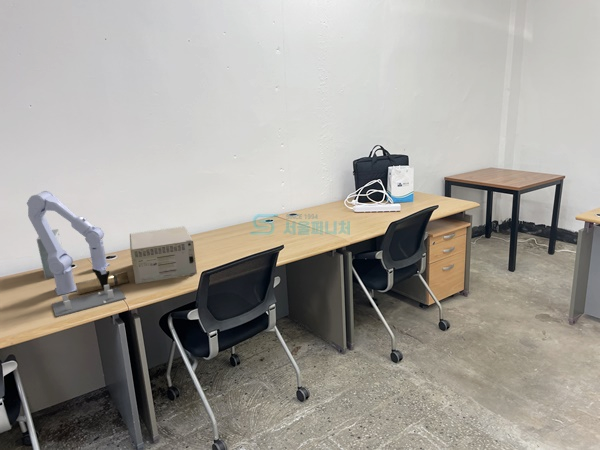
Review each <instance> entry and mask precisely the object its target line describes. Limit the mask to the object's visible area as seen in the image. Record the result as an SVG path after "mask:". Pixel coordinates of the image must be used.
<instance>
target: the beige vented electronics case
mask: <svg viewBox="0 0 600 450" xmlns="http://www.w3.org/2000/svg"><path fill="white" fill-rule="evenodd" d="M194 245H195V244H194V241H193V239H192V237H191V235H190V233H189V232H188V229H187V228H186V226H185V225H183V226H182V225H181V226H174V227H168V228H161V229H154V230H147V231H139V232H133V233H129V247H130V249H129V250H130V257H131V263H132V271H133V276H134V282H135V283H134V284H135V285H138V284H144V283H150V282H156V281H163V280H168V279H172V278H173V279H174V278H179V277H185V276H190V275H191V276H192V275H196V274H197V271H198V270H197V263H196V253H195V247H194Z"/></svg>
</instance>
